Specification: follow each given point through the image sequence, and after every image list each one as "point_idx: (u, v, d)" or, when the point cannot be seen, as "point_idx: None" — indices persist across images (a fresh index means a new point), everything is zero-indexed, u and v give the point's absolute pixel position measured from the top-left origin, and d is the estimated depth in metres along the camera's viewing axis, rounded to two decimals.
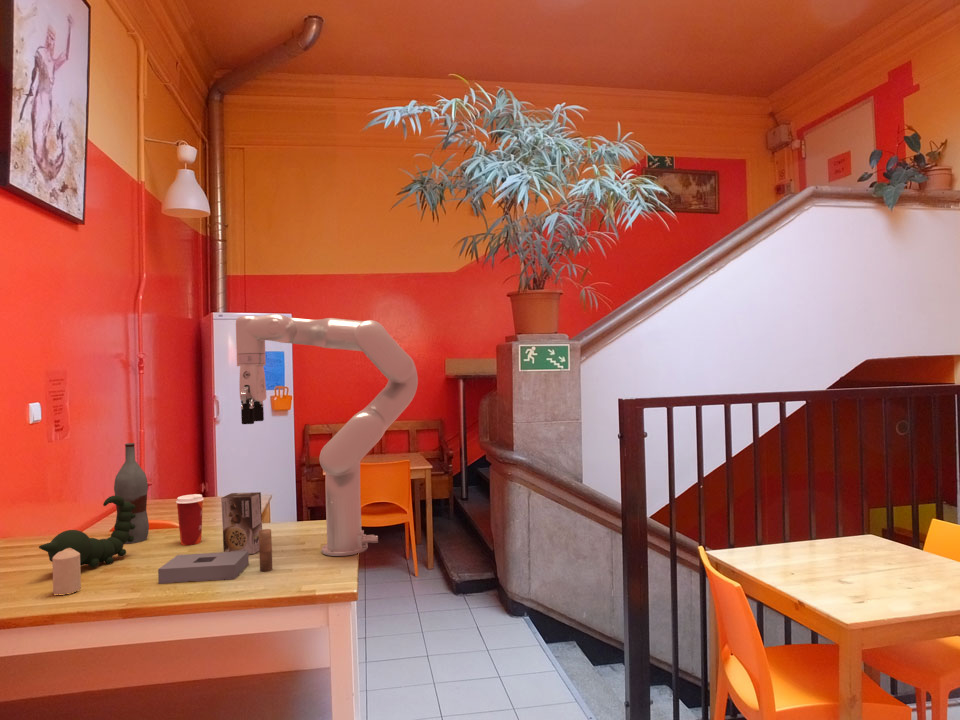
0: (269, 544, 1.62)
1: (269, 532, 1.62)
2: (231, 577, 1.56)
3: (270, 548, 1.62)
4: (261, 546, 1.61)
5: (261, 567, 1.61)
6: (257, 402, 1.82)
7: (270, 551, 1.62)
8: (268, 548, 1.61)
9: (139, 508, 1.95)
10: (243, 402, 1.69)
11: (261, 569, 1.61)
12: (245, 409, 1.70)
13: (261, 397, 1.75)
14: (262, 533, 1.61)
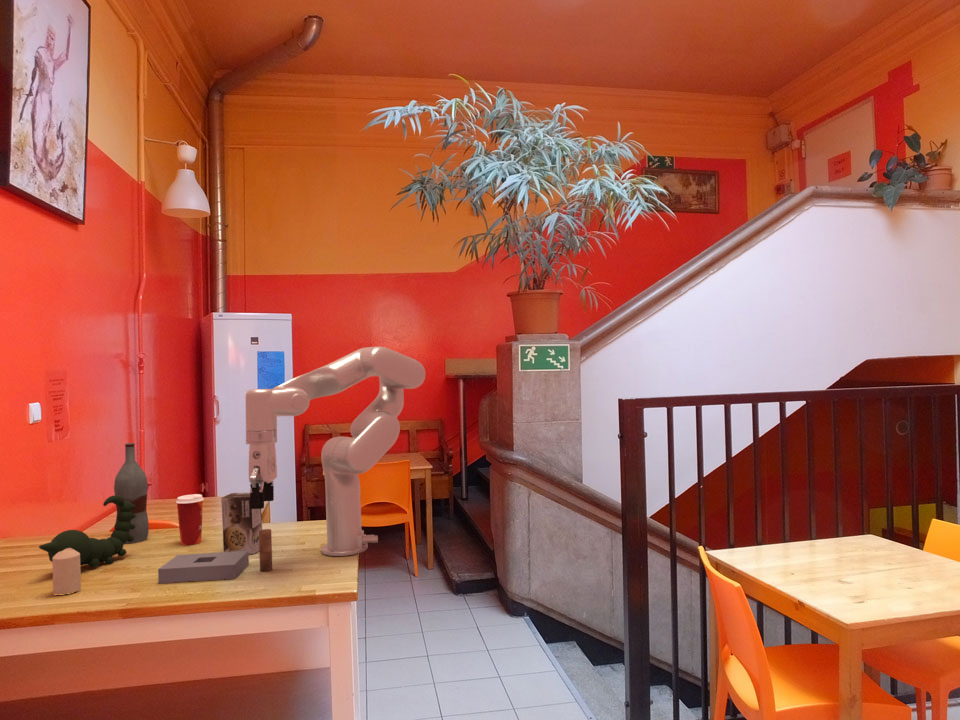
0: (269, 544, 1.62)
1: (269, 532, 1.62)
2: (231, 577, 1.56)
3: (270, 548, 1.62)
4: (261, 546, 1.61)
5: (261, 567, 1.61)
6: None
7: (270, 551, 1.62)
8: (268, 548, 1.61)
9: (139, 508, 1.95)
10: (252, 486, 1.55)
11: (261, 569, 1.61)
12: (254, 493, 1.56)
13: (272, 477, 1.61)
14: (262, 533, 1.61)
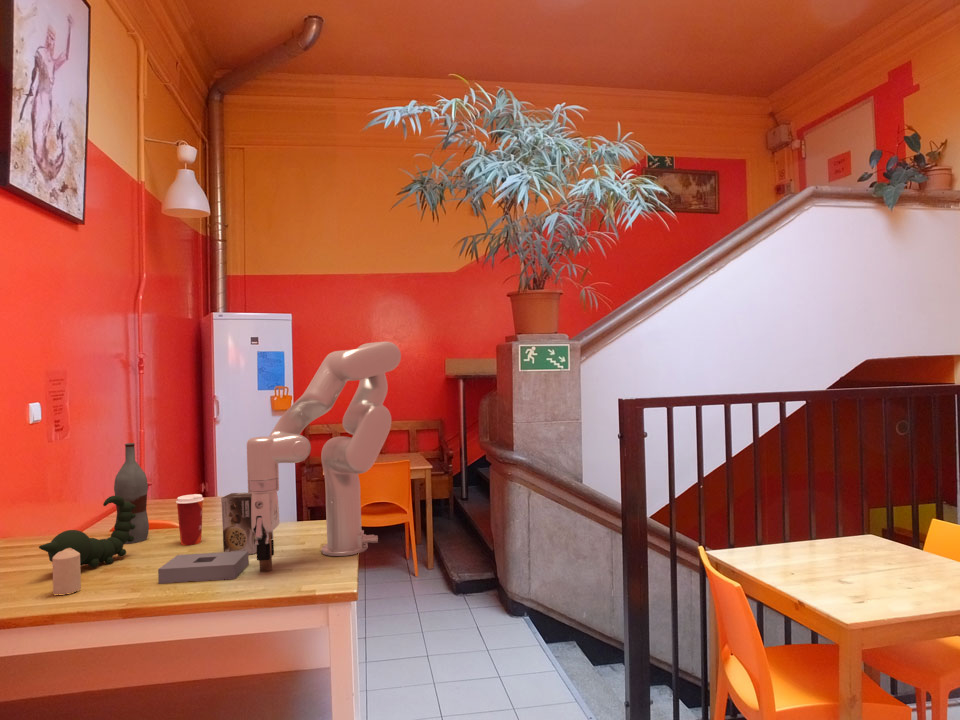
0: None
1: (269, 532, 1.62)
2: (231, 577, 1.56)
3: (270, 548, 1.62)
4: None
5: (261, 567, 1.61)
6: None
7: (270, 551, 1.62)
8: None
9: (139, 508, 1.95)
10: None
11: (261, 569, 1.61)
12: (261, 545, 1.59)
13: (274, 526, 1.61)
14: None
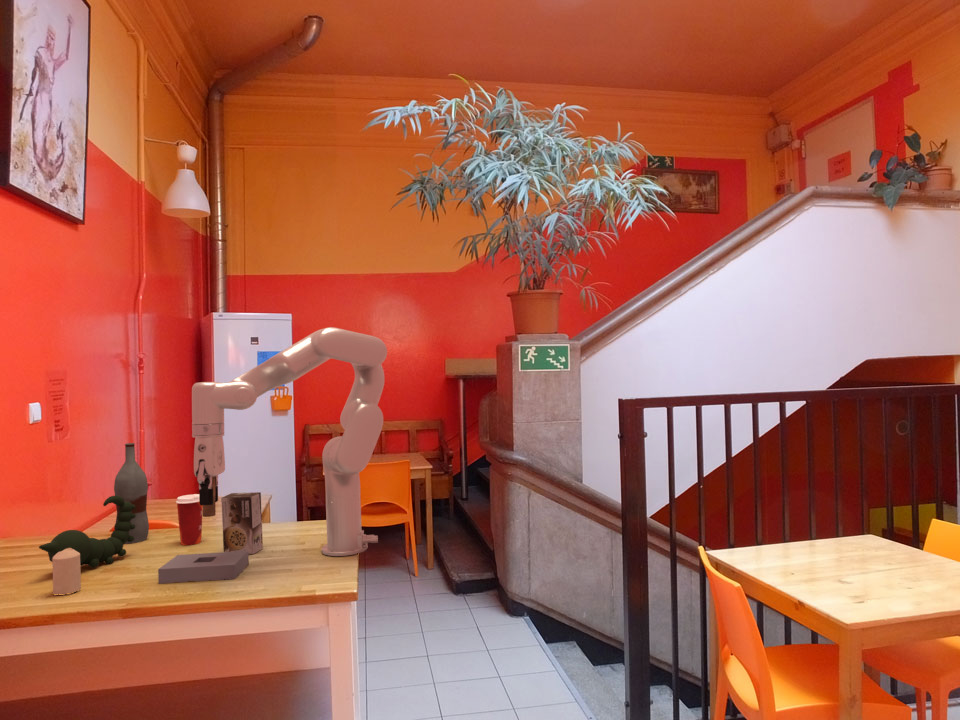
0: None
1: (213, 477, 1.61)
2: (231, 577, 1.56)
3: (214, 494, 1.61)
4: None
5: (203, 512, 1.60)
6: None
7: (213, 496, 1.61)
8: None
9: (139, 508, 1.95)
10: None
11: (203, 514, 1.60)
12: (203, 489, 1.58)
13: (218, 471, 1.60)
14: None
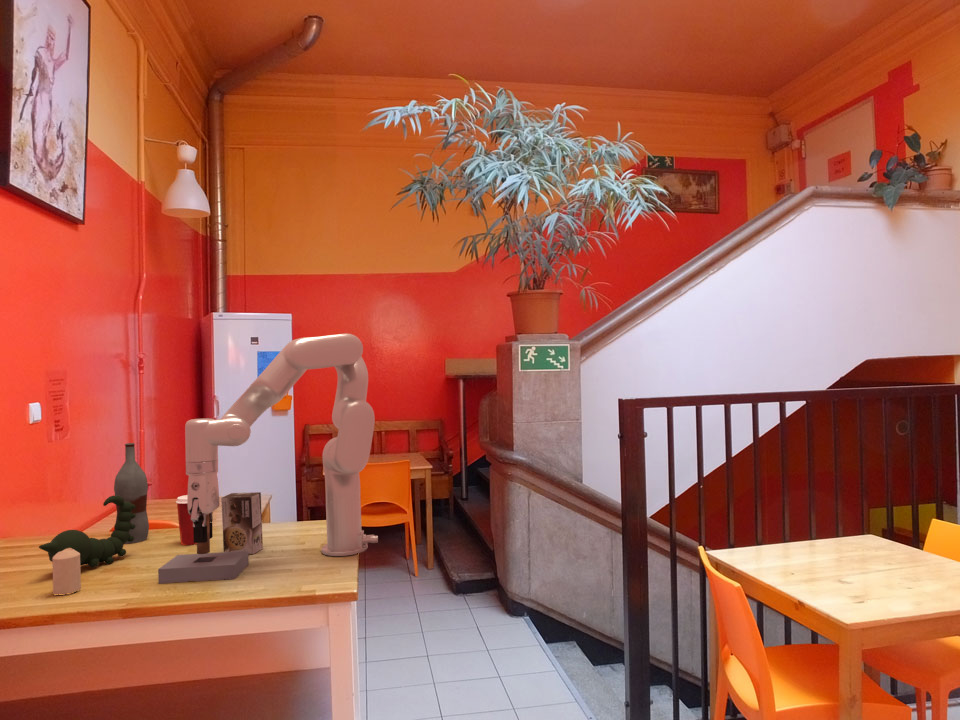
0: None
1: None
2: (231, 577, 1.56)
3: (208, 531, 1.61)
4: None
5: (198, 549, 1.60)
6: None
7: (207, 533, 1.61)
8: None
9: (139, 508, 1.95)
10: None
11: (198, 551, 1.60)
12: (197, 527, 1.58)
13: (212, 508, 1.60)
14: None
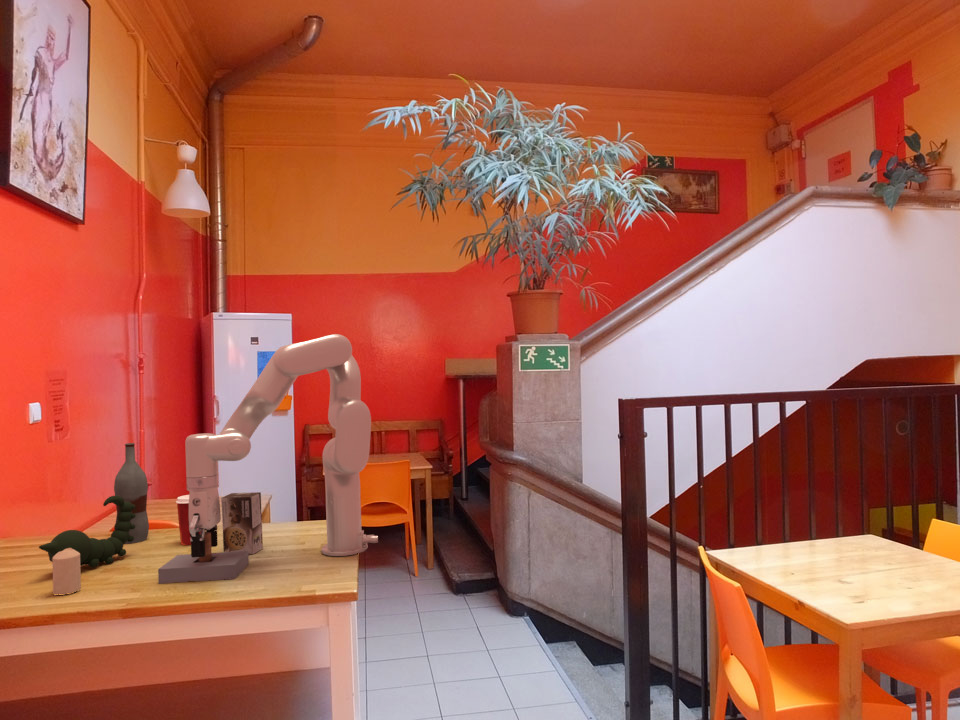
0: (208, 547, 1.60)
1: (208, 535, 1.61)
2: (231, 577, 1.56)
3: (210, 552, 1.61)
4: None
5: None
6: None
7: (209, 554, 1.61)
8: (207, 552, 1.60)
9: (139, 508, 1.95)
10: (192, 535, 1.54)
11: None
12: (195, 541, 1.56)
13: (213, 523, 1.60)
14: None
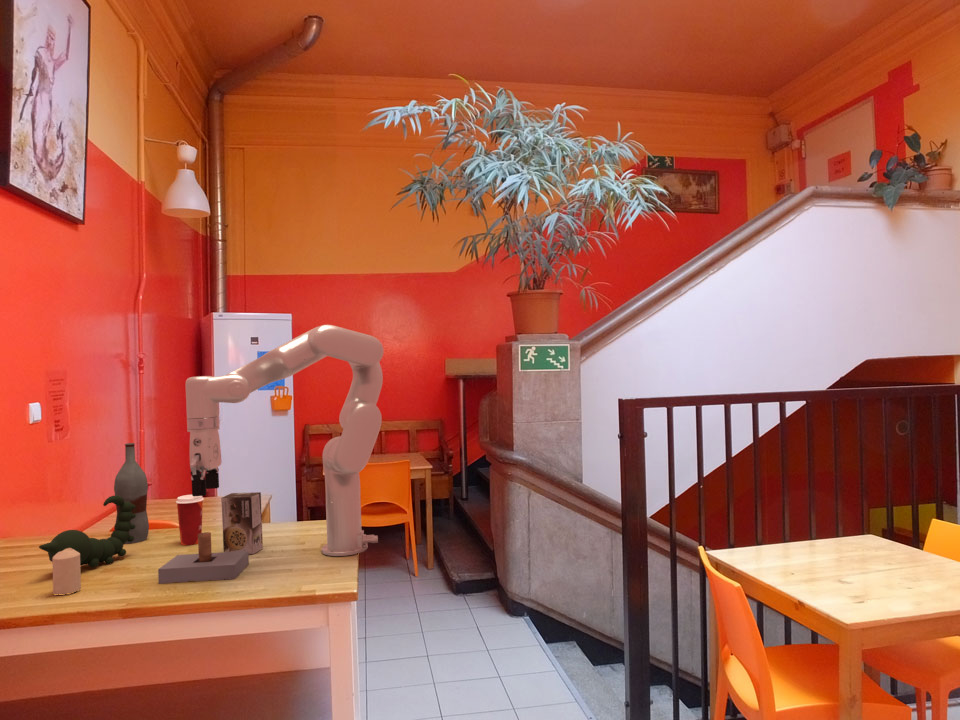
0: (208, 547, 1.60)
1: (208, 535, 1.61)
2: (231, 577, 1.56)
3: (210, 552, 1.61)
4: (200, 549, 1.60)
5: None
6: None
7: (209, 554, 1.61)
8: (207, 552, 1.60)
9: (139, 508, 1.95)
10: (193, 473, 1.54)
11: None
12: (196, 480, 1.56)
13: (214, 465, 1.61)
14: (201, 536, 1.60)
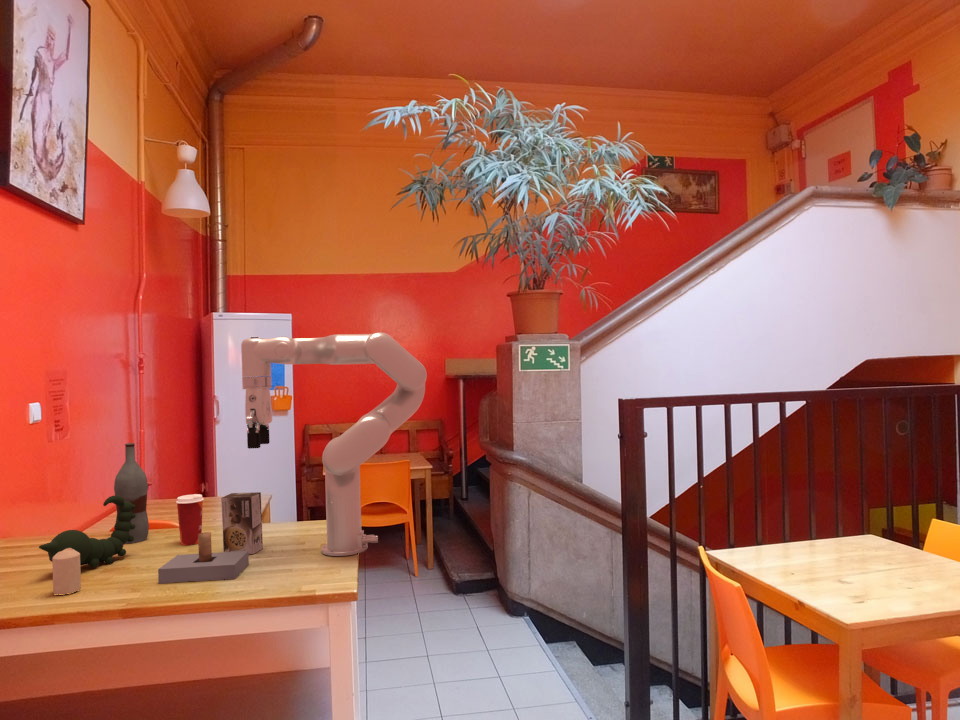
0: (208, 547, 1.60)
1: (208, 535, 1.61)
2: (231, 577, 1.56)
3: (210, 552, 1.61)
4: (200, 549, 1.60)
5: None
6: (263, 425, 1.80)
7: (209, 554, 1.61)
8: (207, 552, 1.60)
9: (139, 508, 1.95)
10: (249, 426, 1.67)
11: None
12: (251, 433, 1.68)
13: (267, 420, 1.73)
14: (201, 536, 1.60)
